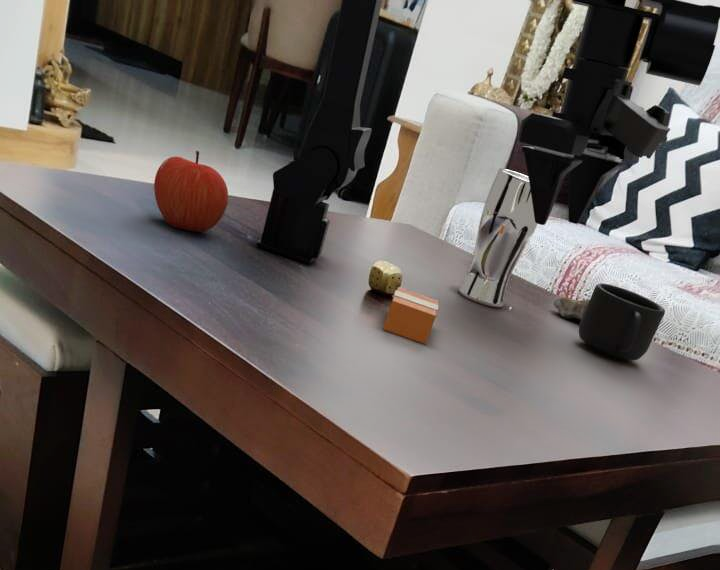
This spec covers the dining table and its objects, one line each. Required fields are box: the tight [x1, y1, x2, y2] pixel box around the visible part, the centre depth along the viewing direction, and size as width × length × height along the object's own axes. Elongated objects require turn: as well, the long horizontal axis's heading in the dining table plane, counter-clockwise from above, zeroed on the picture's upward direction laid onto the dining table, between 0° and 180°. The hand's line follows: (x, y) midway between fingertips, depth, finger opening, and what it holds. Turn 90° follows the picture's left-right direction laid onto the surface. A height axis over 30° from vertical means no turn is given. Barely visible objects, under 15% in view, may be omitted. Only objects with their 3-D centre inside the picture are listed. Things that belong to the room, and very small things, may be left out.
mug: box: [578, 283, 666, 362], centre depth 121 cm, size 12×9×7 cm
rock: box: [553, 296, 590, 321], centre depth 135 cm, size 9×6×10 cm
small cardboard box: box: [383, 286, 439, 345], centre depth 103 cm, size 5×7×3 cm
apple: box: [153, 150, 229, 233], centre depth 108 cm, size 8×8×8 cm
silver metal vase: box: [458, 167, 538, 309], centre depth 124 cm, size 7×7×15 cm
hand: (557, 223), depth 110 cm, fingers open, 9 cm apart
